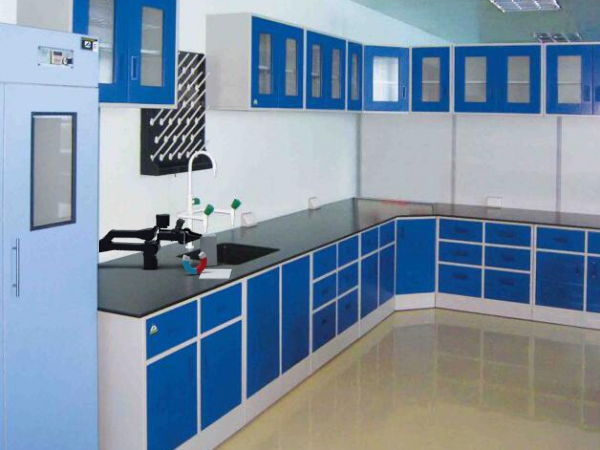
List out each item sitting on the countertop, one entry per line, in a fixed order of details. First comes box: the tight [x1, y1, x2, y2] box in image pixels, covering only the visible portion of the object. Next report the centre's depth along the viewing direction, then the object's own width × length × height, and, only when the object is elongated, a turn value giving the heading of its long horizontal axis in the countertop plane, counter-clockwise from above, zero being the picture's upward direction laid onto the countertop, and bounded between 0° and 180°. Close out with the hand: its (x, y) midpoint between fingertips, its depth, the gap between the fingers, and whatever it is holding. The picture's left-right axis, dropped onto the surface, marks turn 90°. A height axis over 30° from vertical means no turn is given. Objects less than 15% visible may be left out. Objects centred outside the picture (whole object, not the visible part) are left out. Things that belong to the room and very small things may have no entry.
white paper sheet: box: [198, 268, 233, 280], centre depth 370 cm, size 14×20×1 cm
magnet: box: [181, 251, 207, 275], centre depth 369 cm, size 12×3×10 cm, turn 117°
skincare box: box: [199, 233, 218, 267], centre depth 390 cm, size 8×7×16 cm
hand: (201, 236), depth 379 cm, fingers open, 9 cm apart
